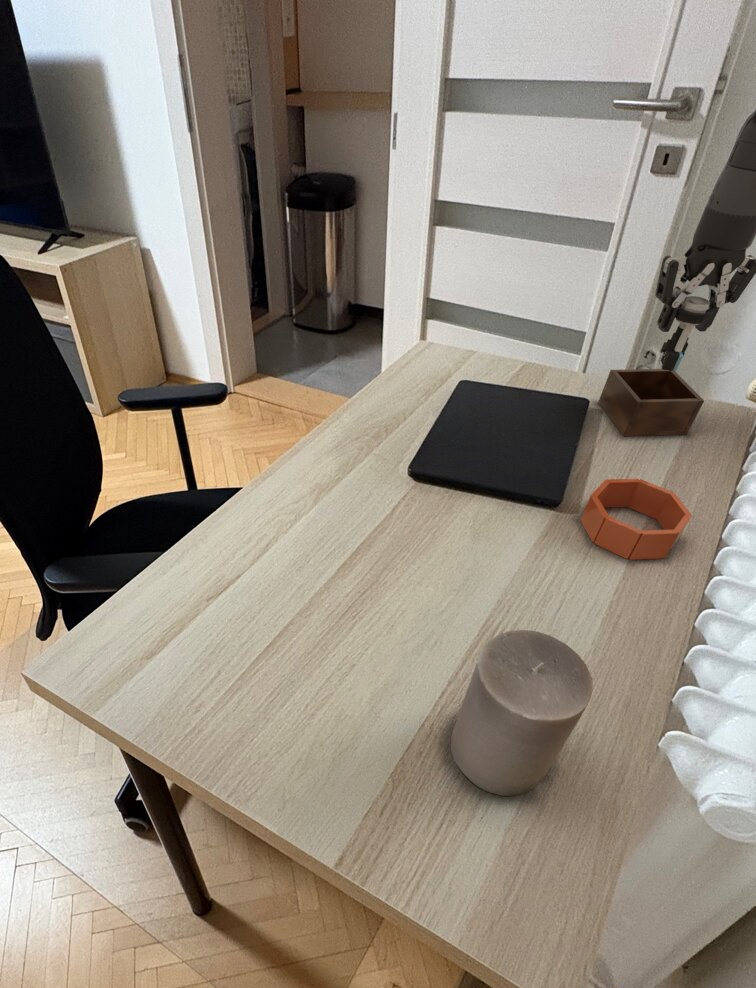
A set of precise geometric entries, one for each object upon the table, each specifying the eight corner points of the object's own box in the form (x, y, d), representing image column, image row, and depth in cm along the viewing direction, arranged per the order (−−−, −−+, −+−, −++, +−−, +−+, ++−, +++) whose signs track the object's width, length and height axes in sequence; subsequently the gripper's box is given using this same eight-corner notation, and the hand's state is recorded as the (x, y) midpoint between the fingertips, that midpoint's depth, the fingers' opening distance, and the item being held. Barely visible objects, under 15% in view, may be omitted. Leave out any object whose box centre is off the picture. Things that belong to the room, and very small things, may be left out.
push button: (646, 352, 103) (673, 289, 96) (680, 355, 102) (710, 292, 95) (652, 370, 98) (681, 305, 91) (688, 374, 98) (720, 309, 90)
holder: (657, 401, 112) (672, 368, 107) (686, 434, 104) (704, 400, 100) (597, 403, 111) (610, 369, 107) (623, 436, 104) (638, 402, 99)
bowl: (650, 502, 91) (663, 477, 88) (689, 557, 83) (705, 532, 80) (571, 505, 91) (581, 479, 87) (602, 560, 82) (615, 535, 79)
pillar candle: (543, 721, 65) (593, 628, 54) (549, 807, 59) (607, 721, 48) (450, 704, 66) (481, 610, 56) (446, 787, 60) (479, 699, 49)
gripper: (700, 213, 81) (647, 341, 94) (804, 213, 82) (738, 339, 94) (673, 197, 86) (626, 320, 99) (772, 197, 87) (713, 319, 99)
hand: (681, 329), depth 96 cm, fingers closed on push button, 5 cm apart
